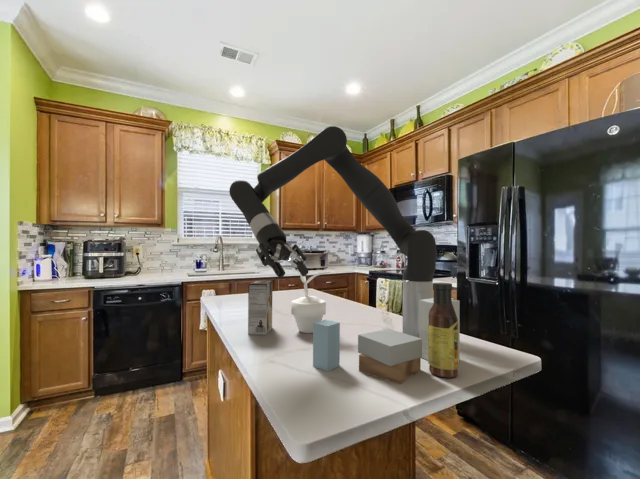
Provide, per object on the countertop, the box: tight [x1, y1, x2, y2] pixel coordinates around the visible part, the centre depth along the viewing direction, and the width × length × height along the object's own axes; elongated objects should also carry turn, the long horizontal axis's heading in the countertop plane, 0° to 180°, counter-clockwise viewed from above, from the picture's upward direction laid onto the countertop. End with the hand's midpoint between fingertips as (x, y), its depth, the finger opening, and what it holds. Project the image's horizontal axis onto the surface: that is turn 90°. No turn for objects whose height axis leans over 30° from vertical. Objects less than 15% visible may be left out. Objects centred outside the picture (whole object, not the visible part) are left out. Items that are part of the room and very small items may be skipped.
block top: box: [357, 328, 422, 366], centre depth 70 cm, size 10×10×4 cm
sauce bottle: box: [428, 282, 460, 379], centre depth 69 cm, size 7×6×20 cm
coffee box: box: [247, 280, 274, 336], centre depth 102 cm, size 9×6×16 cm
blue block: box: [312, 319, 341, 372], centre depth 73 cm, size 4×4×10 cm
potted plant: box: [290, 269, 330, 334], centre depth 103 cm, size 13×12×25 cm
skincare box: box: [419, 297, 461, 362], centre depth 78 cm, size 8×6×15 cm
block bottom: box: [358, 353, 422, 385], centre depth 70 cm, size 10×10×4 cm
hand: (294, 275), depth 82 cm, fingers open, 8 cm apart
